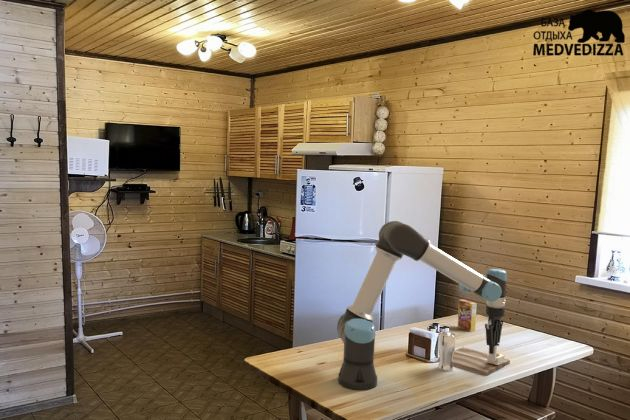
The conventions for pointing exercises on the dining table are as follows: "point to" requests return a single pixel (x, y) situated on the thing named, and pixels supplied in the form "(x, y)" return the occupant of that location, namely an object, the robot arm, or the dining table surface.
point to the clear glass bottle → (446, 350)
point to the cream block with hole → (497, 359)
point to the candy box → (467, 315)
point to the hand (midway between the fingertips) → (492, 360)
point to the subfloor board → (475, 361)
